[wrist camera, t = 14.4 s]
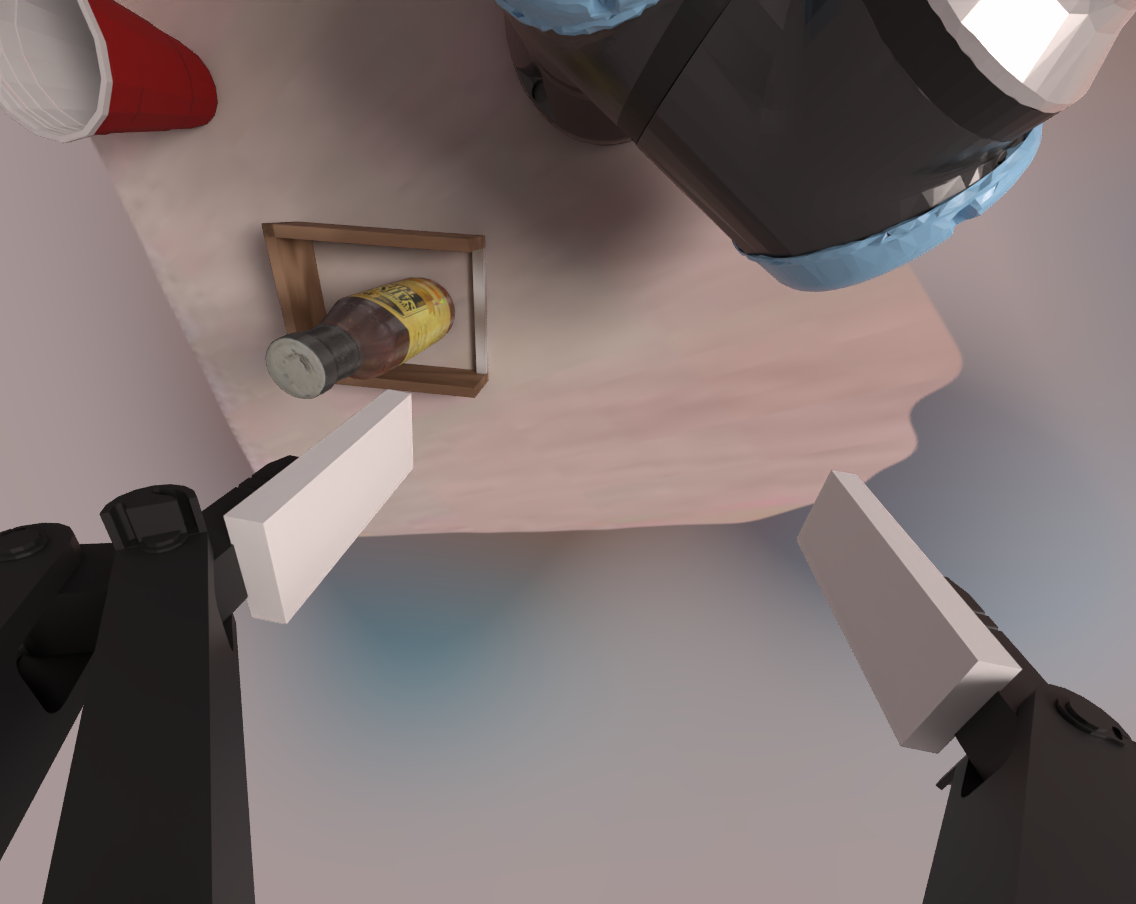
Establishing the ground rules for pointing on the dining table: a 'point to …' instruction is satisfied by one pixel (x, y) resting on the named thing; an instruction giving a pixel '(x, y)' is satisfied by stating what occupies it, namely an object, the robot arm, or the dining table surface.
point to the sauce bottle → (362, 337)
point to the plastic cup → (96, 71)
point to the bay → (298, 261)
